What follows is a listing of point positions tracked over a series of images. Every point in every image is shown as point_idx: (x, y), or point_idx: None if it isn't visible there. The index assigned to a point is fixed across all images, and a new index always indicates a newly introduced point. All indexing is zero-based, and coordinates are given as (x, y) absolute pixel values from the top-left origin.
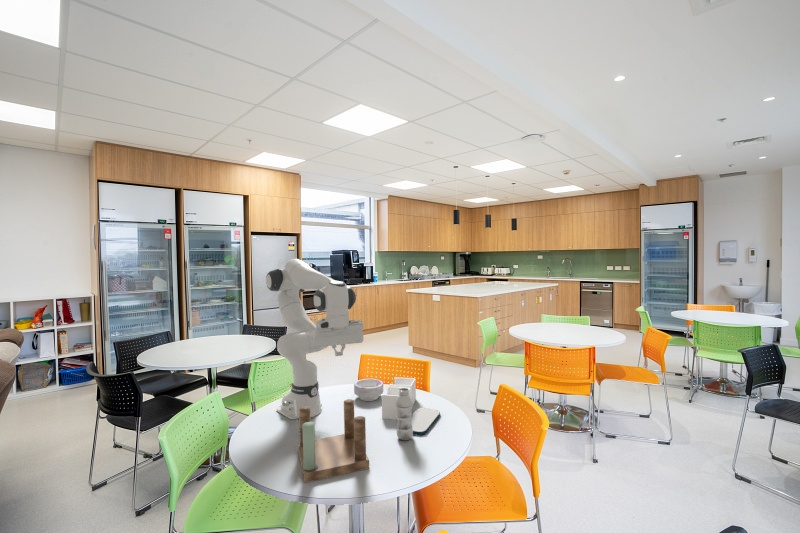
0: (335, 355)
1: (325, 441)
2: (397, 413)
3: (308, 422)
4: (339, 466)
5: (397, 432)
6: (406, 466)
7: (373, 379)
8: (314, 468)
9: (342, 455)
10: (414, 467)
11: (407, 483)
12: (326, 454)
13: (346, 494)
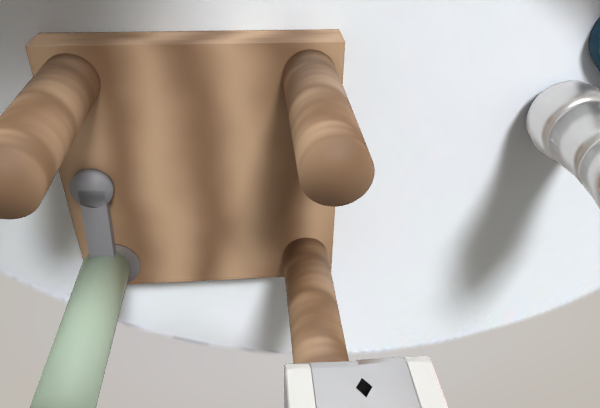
0: (284, 403)
1: (177, 86)
2: (590, 164)
3: (59, 396)
4: (218, 278)
5: (534, 128)
6: (443, 276)
7: None
8: None
9: (241, 222)
10: (462, 286)
11: (401, 339)
12: (176, 197)
13: (226, 337)
